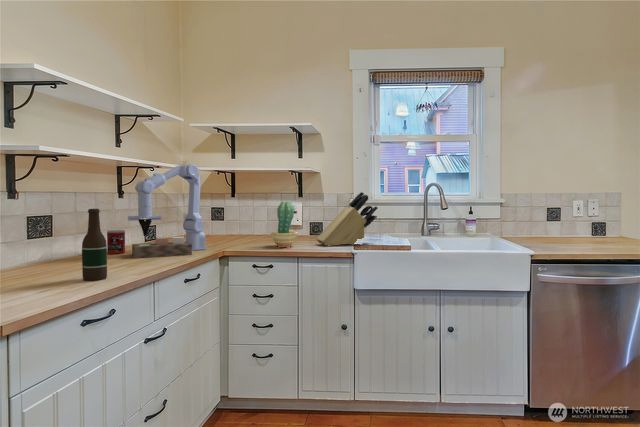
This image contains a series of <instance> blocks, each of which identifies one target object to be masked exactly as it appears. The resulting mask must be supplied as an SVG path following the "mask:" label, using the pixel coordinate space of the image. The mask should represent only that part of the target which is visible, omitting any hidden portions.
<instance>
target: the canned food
mask: <svg viewBox="0 0 640 427" xmlns="http://www.w3.org/2000/svg"><path fill="white" fill-rule="evenodd" d="M106 237H107V238H106V244H107V254H108V255H122V254H123V255H124V254H125V252H126V231H125V229H124V230H123V229H115V230H114V229H112V230H107V231H106Z"/></svg>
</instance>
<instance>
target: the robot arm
mask: <svg viewBox="0 0 640 427" xmlns="http://www.w3.org/2000/svg"><path fill="white" fill-rule="evenodd" d="M176 176H179V177H181V178H182V179H184V180H186V181H187V182H188V184H189V187H188V189H189V190H188V207H187V208H188V209H187V214H186V215H185V217H184V221H183V222H182V227H183V230H184V232H185V241H187V242H188V243H190V244H192V251H198V250H199V251H202V250H203V251H205V250H207V248H206V234H205V232H204V231H203V229H204V221H203V217H202V215H200V201H201V183H202V181H201V177H200V168H199V167H198V166H197V165H196V164H194V163H190V164H189V163H188V164H179V165H176V166H175V167H172V168H171V169H169V170H168V171H165V172H164V173H162V174H161V173H153V174H152V176H150V177H146V178H144V180H140V181H138V182H137V183H136V184H135V186H134V188H135V191H136V192H137V210H138V211H137V215H131V216H130V215H129V216H127V221H128V222H129V221H138V223H139V226H140V228H141V231H142V235H143V236H144V237H146V236H147V237H148V234H149V233H148V232H149V229H150V226H151V225H152V224H151V223H152V222H153V221H162V219H163V216H162V215H152V213H153V212H152V193H153V192H154V190H155V189H157V188H159V187H162V186H163V185H165V184H166V181H167V180H170V179H172V178H174V177H176Z"/></svg>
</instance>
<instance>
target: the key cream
mask: <svg viewBox="0 0 640 427" xmlns="http://www.w3.org/2000/svg"><path fill="white" fill-rule="evenodd" d="M171 240H172V241H171V242H172V244H185V241H186V236H185V237H184V236H172V237H171Z"/></svg>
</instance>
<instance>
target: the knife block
mask: <svg viewBox="0 0 640 427" xmlns="http://www.w3.org/2000/svg"><path fill="white" fill-rule="evenodd" d="M367 201H369V196H368V195H367V194H365V193H364V192H363V191H360V193H358V194H357V195H355V197H354V198H353V200H352V201H351V202H350V203H349V204H348V206H345V207H344V208H342V210H341V211H340V212H339V213H338V214H337V215H336V216H335V218H333V220H332V221H331V222H330V223H329V224H327V226H326V227H325V229H323V231H322V232H320V234H318V236H317V237H316V241H317V242H318V243H319V244H321V245H325V246H327V245H330V246H340V245H339V244H352V245H355V244H354V243H355V242H356V241H357V239H362V238H364V239H365V229H366V228H367V227H368V226H370V224H371V223H373V222H374V221H375V220H376V219H377V218H378V216H377V215H373V214H374V213H375V211H377V210H378V206H371V205H367V206H364V205H365V204H366V202H367ZM363 206H364V207H363ZM361 208H362V210H361V211H360V209H361ZM359 211H360V212H359Z"/></svg>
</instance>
